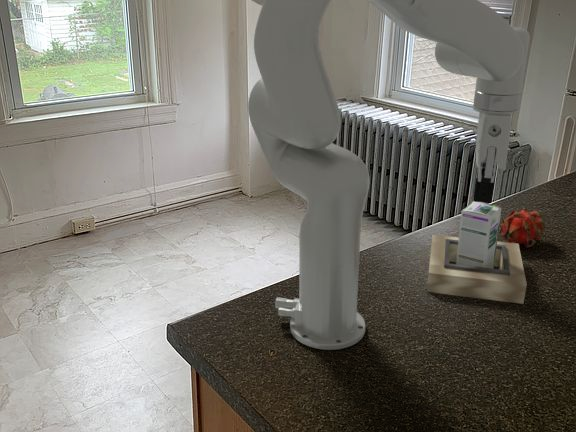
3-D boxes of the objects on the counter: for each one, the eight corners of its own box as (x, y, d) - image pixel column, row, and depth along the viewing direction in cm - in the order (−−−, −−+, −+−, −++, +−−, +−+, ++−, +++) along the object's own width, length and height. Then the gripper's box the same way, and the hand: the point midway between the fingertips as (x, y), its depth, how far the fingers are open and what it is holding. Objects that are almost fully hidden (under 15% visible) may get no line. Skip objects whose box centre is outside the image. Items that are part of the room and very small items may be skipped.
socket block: (426, 291, 111) (428, 269, 109) (430, 251, 126) (432, 232, 124) (523, 303, 107) (527, 281, 105) (515, 261, 122) (518, 240, 120)
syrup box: (482, 286, 112) (493, 216, 106) (453, 277, 115) (461, 209, 110) (493, 275, 116) (503, 206, 111) (464, 266, 120) (472, 199, 114)
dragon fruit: (539, 243, 133) (506, 265, 127) (513, 214, 135) (480, 234, 130) (563, 224, 126) (529, 246, 120) (535, 193, 128) (501, 214, 123)
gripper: (523, 112, 95) (506, 218, 102) (515, 94, 108) (501, 189, 115) (474, 109, 97) (461, 213, 104) (473, 92, 110) (461, 185, 117)
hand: (482, 200), depth 110 cm, fingers closed
